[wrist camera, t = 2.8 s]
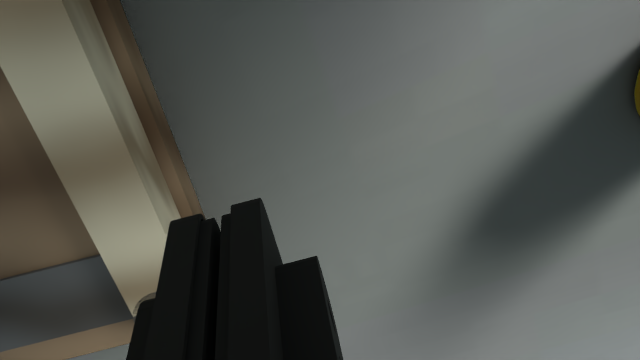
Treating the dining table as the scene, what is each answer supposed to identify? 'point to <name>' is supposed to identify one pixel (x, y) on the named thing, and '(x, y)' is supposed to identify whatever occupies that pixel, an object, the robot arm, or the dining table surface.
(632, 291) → the dining table surface
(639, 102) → the bottle
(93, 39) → the folding leg
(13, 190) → the stool seat
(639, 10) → the dining table surface
